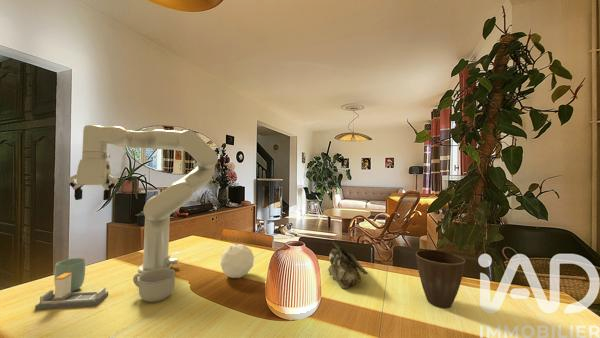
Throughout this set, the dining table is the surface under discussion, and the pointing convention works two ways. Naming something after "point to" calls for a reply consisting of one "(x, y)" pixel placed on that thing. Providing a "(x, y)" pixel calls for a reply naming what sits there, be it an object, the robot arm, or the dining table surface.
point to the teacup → (155, 284)
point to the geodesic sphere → (237, 260)
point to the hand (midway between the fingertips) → (92, 199)
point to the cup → (72, 271)
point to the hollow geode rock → (344, 267)
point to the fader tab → (62, 287)
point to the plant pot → (440, 276)
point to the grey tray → (72, 299)
